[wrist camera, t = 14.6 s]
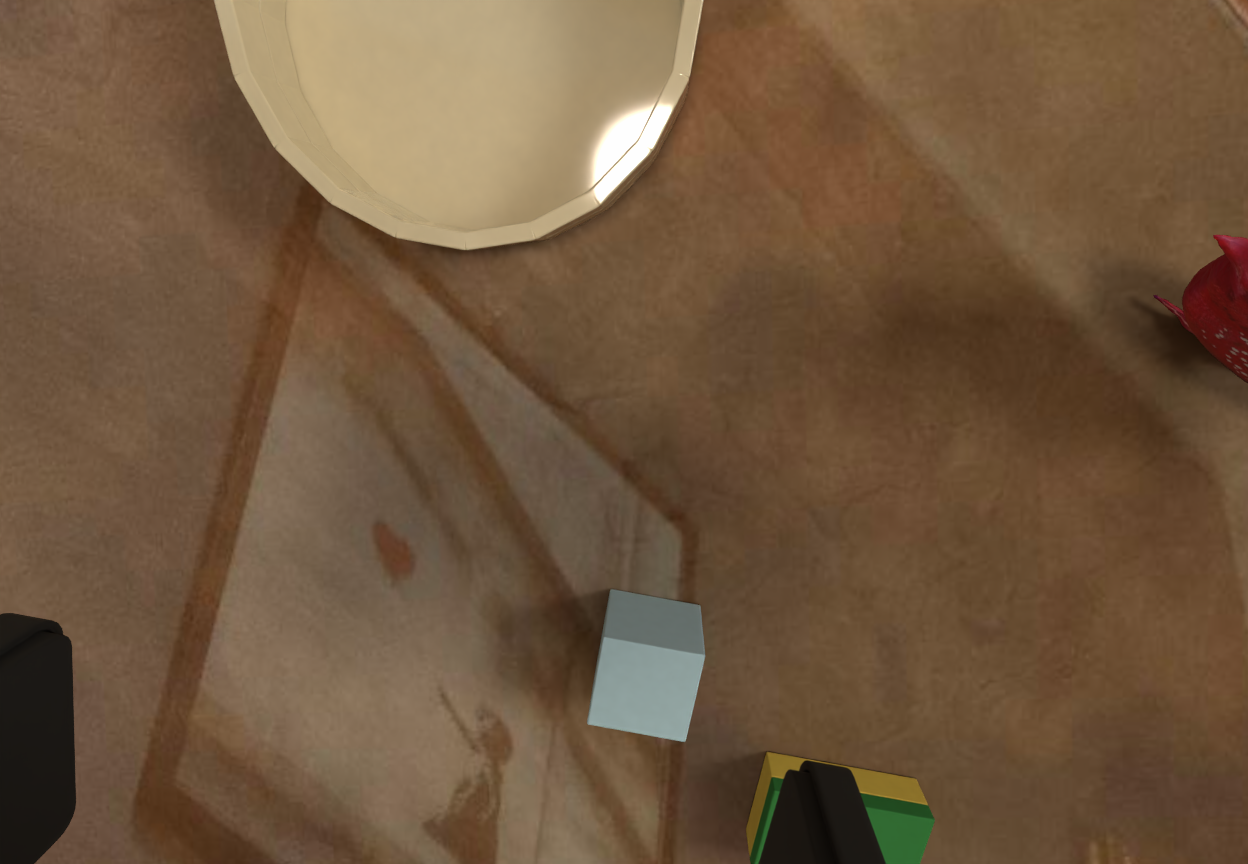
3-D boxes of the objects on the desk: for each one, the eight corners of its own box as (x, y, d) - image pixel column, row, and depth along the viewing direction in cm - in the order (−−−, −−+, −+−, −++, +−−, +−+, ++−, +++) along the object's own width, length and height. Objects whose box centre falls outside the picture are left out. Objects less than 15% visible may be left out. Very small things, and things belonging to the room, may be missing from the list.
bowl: (270, 208, 28) (207, 204, 25) (287, -261, 24) (216, -355, 20) (654, 277, 28) (652, 283, 24) (736, -184, 24) (750, -263, 20)
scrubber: (745, 829, 35) (751, 873, 32) (766, 751, 34) (774, 791, 31) (890, 855, 35) (907, 902, 32) (916, 778, 34) (935, 820, 31)
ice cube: (595, 667, 33) (586, 724, 29) (610, 588, 32) (602, 636, 28) (683, 683, 33) (685, 742, 29) (700, 604, 32) (705, 655, 28)
